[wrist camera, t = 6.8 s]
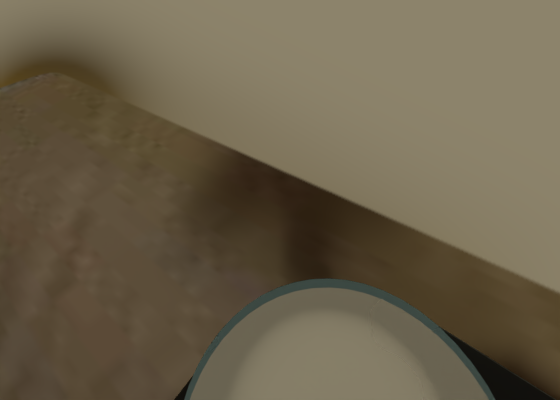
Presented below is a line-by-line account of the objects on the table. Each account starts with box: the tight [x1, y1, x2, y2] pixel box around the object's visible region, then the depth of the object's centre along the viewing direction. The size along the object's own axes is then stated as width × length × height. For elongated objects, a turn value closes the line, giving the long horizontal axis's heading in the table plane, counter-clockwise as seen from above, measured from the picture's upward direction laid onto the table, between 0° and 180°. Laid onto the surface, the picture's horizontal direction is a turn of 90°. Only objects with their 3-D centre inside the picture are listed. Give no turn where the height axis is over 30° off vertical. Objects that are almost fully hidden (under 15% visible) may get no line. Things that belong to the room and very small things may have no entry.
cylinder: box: [184, 278, 495, 400], centre depth 8 cm, size 5×5×10 cm
